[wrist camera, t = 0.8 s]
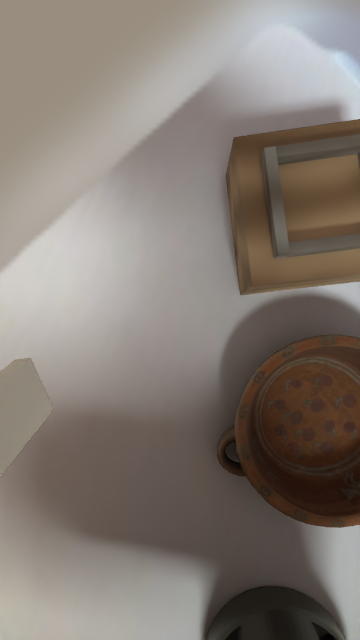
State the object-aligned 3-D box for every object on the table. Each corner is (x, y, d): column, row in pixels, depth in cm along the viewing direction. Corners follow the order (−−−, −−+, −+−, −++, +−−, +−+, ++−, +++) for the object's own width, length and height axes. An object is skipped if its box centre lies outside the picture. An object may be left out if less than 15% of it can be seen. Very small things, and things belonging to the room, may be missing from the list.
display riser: (367, 280, 29) (424, 263, 22) (240, 295, 30) (255, 283, 23) (349, 158, 30) (399, 103, 23) (225, 175, 30) (235, 127, 23)
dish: (441, 444, 28) (495, 468, 23) (256, 530, 29) (269, 572, 24) (363, 299, 29) (397, 292, 24) (185, 386, 30) (183, 397, 25)
